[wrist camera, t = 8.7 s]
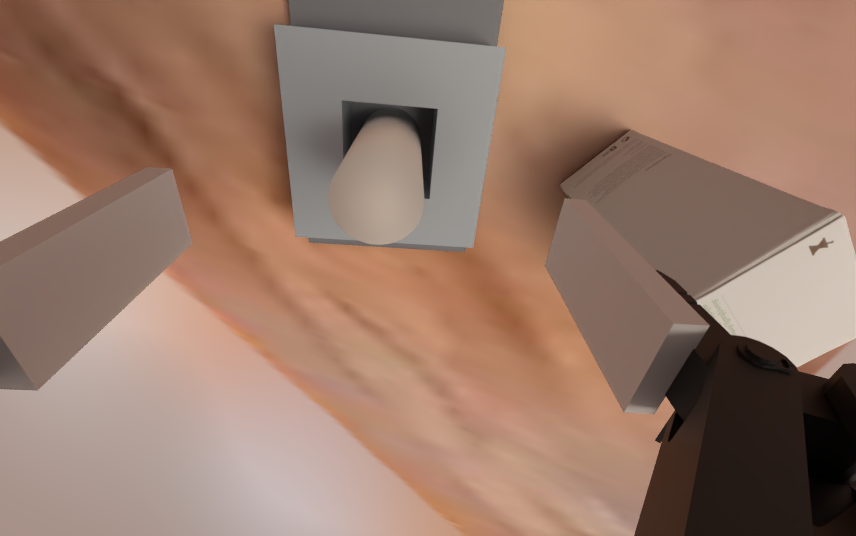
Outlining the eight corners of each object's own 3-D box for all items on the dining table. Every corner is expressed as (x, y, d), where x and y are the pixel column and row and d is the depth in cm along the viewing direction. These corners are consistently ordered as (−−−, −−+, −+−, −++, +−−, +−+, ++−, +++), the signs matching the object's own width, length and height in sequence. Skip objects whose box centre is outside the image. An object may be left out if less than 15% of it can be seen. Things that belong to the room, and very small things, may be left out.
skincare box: (556, 182, 29) (676, 302, 16) (636, 121, 27) (852, 201, 14) (608, 252, 33) (742, 400, 19) (682, 204, 30) (891, 332, 17)
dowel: (361, 104, 25) (325, 149, 15) (422, 109, 25) (428, 157, 15) (362, 164, 27) (330, 241, 17) (418, 169, 27) (420, 247, 17)
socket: (291, -24, 22) (261, -40, 18) (501, -1, 23) (520, -11, 19) (311, 236, 31) (295, 268, 27) (463, 246, 32) (471, 278, 27)
